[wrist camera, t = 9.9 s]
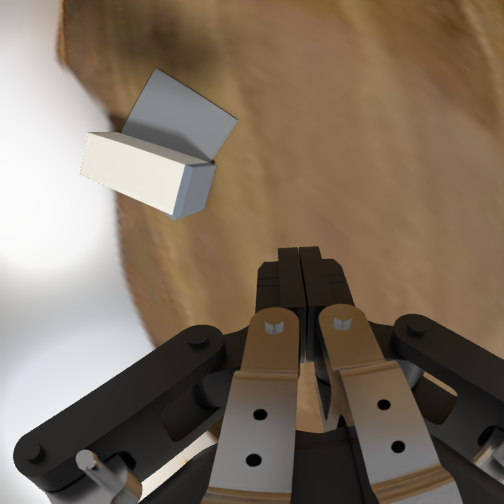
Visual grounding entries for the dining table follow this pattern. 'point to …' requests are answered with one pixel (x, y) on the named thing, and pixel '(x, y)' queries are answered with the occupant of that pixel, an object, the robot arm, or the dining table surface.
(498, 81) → the dining table surface
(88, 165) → the block
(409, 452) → the robot arm
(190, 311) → the dining table surface
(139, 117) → the mat
